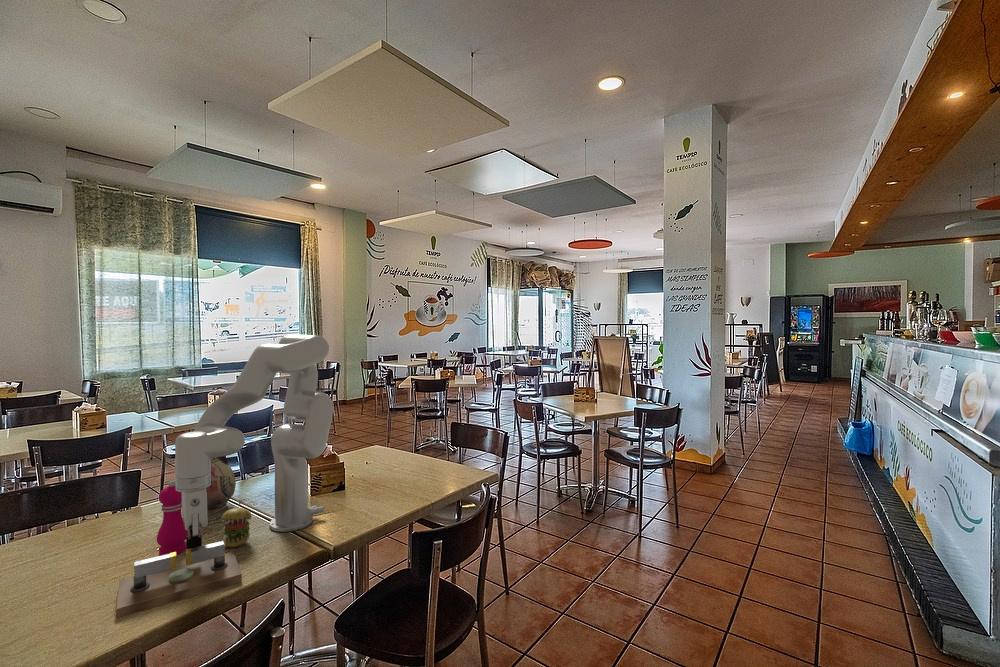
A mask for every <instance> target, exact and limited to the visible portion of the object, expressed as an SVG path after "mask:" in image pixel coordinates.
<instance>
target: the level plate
mask: <svg viewBox="0 0 1000 667" xmlns="http://www.w3.org/2000/svg"><path fill="white" fill-rule="evenodd" d="M224 554H225V565H224V566H222V567H214V559H210V560H206V561H202V562H199V563H195V564H192V565H188V566H186V562H185V563H181V564H176V565H177V568H176V569H172V570H167V571H163V572H159V573H155V574H151V575H147V576H146V581H147V584H146V586H144V587H142V588H139V589H134V579H133V577H134V575H133V576H130V577H126V578H123V579H119V581H118V582H119V583H118V592H117V599H116V600H117V601H116V619H119V618H121V617H125V616H128V615H131V614H132V615H133V614H135V613H139V612H143V611H146V610H150V609H152V608H156V607H160V606H164V605H167V604H171V603H173V602H177V601H180V600H184V599H187V598H191V597H195V596H198V595H201V594H205V593H209V592H212V591H215V590H219V589H221V588H226V587H230V586H232V585H236V584H240V583H242V576H243V575H242V572H241V568H240V565H239V563H238V560H237V557H236V555H235V552H234V551H229V552H226V553H225V552H224Z"/></svg>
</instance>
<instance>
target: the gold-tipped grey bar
mask: <svg viewBox="0 0 1000 667" xmlns="http://www.w3.org/2000/svg"><path fill="white" fill-rule="evenodd" d="M210 559H214V567H222V566H224V565H225V544H224V542H223V540H221V541H217V542H214V543H209V544H204V545H202V546H200V547H195V548H190V549H186V550H185V563H186V566H188V565H192V564H195V563H199V562H202V561H206V560H210Z"/></svg>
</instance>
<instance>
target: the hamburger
mask: <svg viewBox="0 0 1000 667" xmlns="http://www.w3.org/2000/svg"><path fill="white" fill-rule="evenodd" d="M243 503H245V501H242V500H240V499H238V507H234V508H233V507H232V508H230V509H228V510H226V511H224V512H223V514H222V515H221V519H220V520H221V521H224V524H225V525H224V526H223V528H222V530H223V534H224V536H223V539H222V541H223V542H224V547H227V548H229V549H230V548H232V549H234V548H239V547H241V546H242V545H243V544H245V543H246V542H248V540H249V538H250V525H251V523H250V522H249V521H250V520H251V519H252V512H251V511H250V510H248V509H247V508H244V507H239V506H240V505H241V504H243Z"/></svg>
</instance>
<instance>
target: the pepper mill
mask: <svg viewBox="0 0 1000 667" xmlns="http://www.w3.org/2000/svg"><path fill="white" fill-rule="evenodd" d="M158 501H159V502H160V503H161V508H160V509H161V512H162V513H163V516H162V522H161V525H160V528H159V529H158V531H157V535H156V544H158V545H159V548H158V556H162V555H166V554H170V553H173V552H176V556H178V555H180V554H182V553H184V552H186V537H188V536H187V531H186V530H185V526H184V521H183V515H182V493H181V492H178V491H176V480H170V481H168V484H167V486H166V487H164V488H163V489H162V490H161V491H160V493H159V494H158Z"/></svg>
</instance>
